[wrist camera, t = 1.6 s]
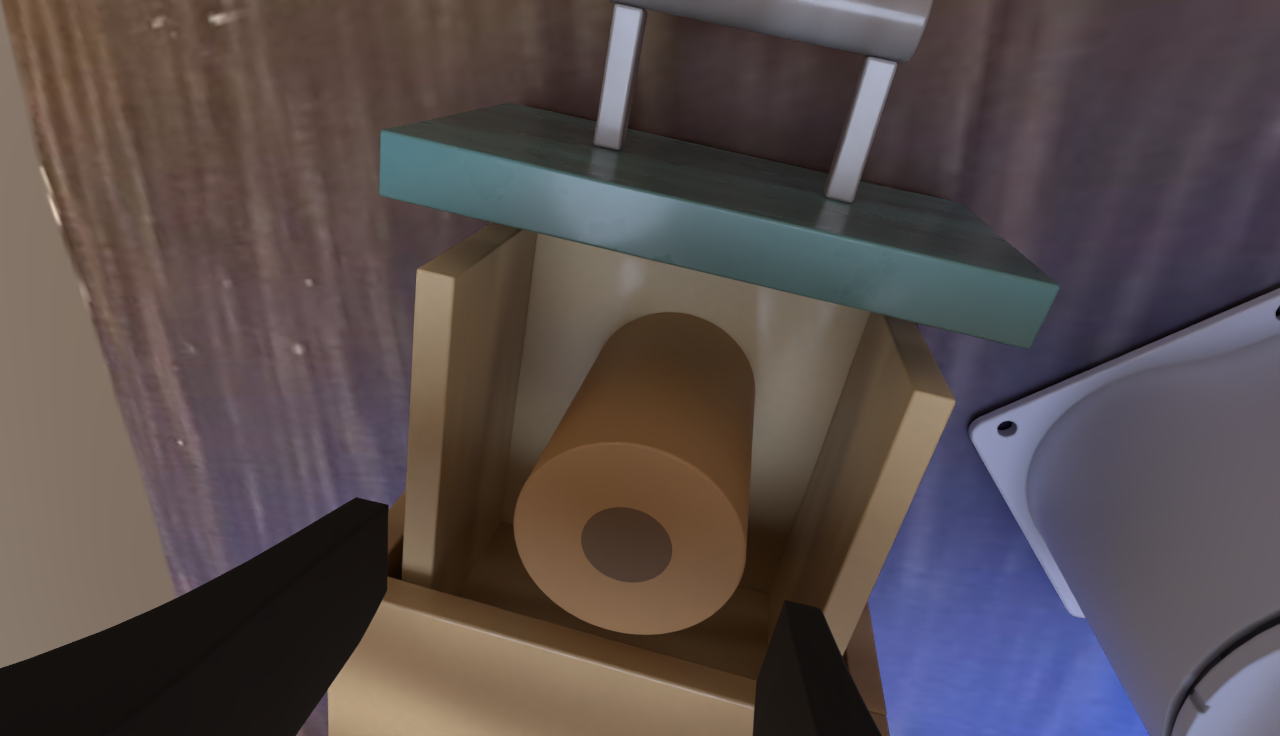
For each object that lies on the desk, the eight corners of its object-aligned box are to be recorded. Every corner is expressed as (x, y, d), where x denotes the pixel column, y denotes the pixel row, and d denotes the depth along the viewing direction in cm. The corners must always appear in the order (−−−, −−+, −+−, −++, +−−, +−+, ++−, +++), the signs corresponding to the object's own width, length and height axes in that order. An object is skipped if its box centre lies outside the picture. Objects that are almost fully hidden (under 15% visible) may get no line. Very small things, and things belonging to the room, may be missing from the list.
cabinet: (470, 411, 24) (324, 585, 16) (853, 510, 23) (893, 746, 15) (443, 700, 30) (329, 924, 22) (741, 787, 29) (729, 1052, 22)
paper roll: (698, 280, 18) (659, 402, 12) (786, 416, 20) (791, 591, 13) (562, 361, 20) (466, 503, 14) (651, 481, 21) (599, 662, 15)
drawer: (528, -86, 17) (385, -163, 11) (1036, 16, 16) (1201, -3, 10) (469, 508, 24) (367, 661, 18) (806, 599, 23) (817, 792, 17)
